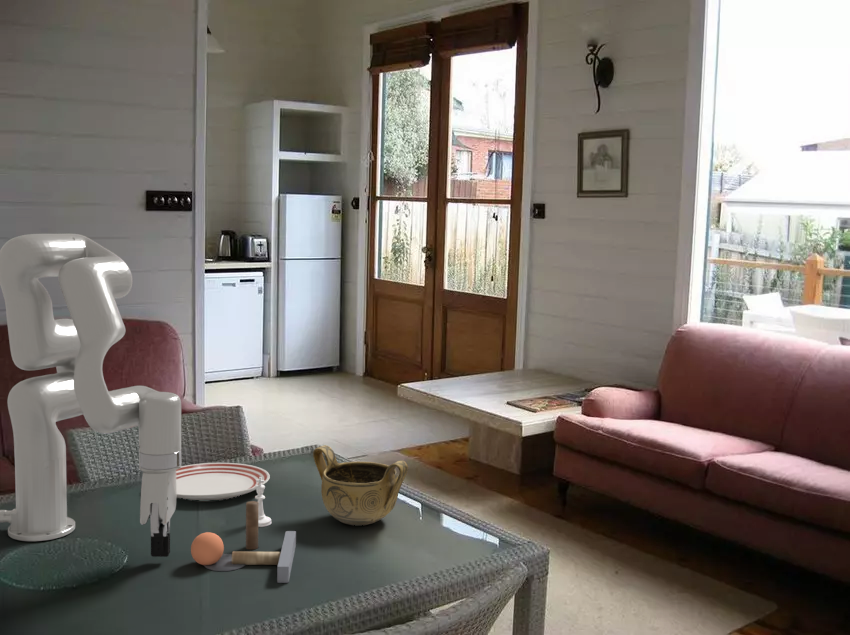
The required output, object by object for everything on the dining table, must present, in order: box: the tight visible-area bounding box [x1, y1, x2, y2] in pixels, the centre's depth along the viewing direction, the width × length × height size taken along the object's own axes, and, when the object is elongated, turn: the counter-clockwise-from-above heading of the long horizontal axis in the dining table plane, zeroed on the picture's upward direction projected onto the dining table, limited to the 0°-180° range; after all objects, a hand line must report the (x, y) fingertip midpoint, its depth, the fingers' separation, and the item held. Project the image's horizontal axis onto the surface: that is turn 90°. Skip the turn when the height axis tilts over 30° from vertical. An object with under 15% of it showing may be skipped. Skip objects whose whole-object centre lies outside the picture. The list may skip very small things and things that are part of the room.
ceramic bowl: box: [312, 444, 409, 527], centre depth 199 cm, size 22×17×15 cm
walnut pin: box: [245, 500, 259, 551], centre depth 182 cm, size 2×2×9 cm
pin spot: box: [203, 553, 247, 572], centre depth 174 cm, size 8×8×1 cm
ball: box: [190, 531, 225, 566], centre depth 173 cm, size 6×6×6 cm
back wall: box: [276, 530, 297, 584], centre depth 175 cm, size 2×18×3 cm, turn 4°
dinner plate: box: [176, 462, 271, 501], centre depth 218 cm, size 27×27×3 cm
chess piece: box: [254, 477, 272, 528], centre depth 196 cm, size 5×5×10 cm
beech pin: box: [231, 550, 281, 566], centre depth 174 cm, size 2×2×9 cm
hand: (160, 554), depth 173 cm, fingers closed
